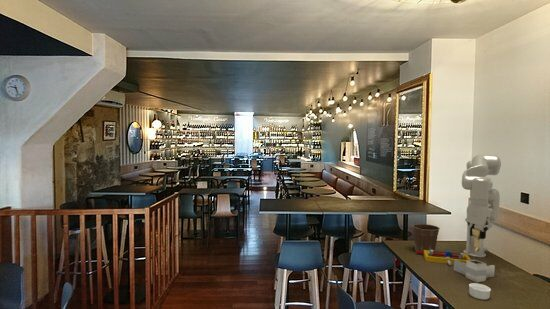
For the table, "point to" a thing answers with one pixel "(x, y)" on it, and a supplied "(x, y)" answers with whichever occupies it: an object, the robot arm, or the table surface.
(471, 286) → the ramekin
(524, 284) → the table surface
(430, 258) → the mechanical clamp
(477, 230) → the wooden bell shape
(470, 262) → the white corner connector
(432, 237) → the plant pot
